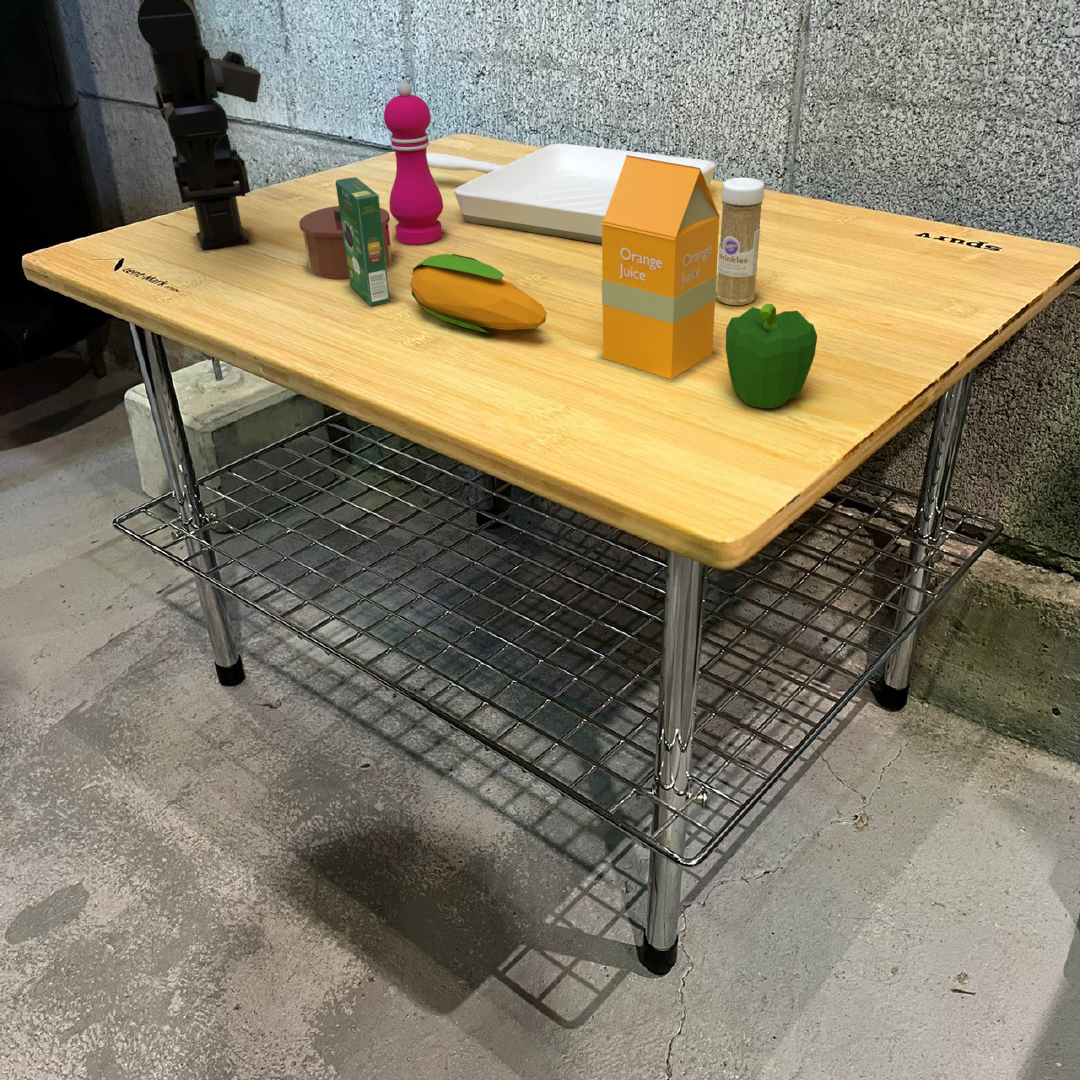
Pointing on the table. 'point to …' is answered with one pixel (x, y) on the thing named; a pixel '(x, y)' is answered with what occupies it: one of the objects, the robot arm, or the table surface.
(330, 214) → the pot lid
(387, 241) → the pot
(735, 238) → the sprinkles bottle
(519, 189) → the pan
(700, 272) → the orange juice
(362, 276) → the coffee box
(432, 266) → the corn
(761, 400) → the bell pepper
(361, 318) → the table surface
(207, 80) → the robot arm
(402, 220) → the pepper mill
